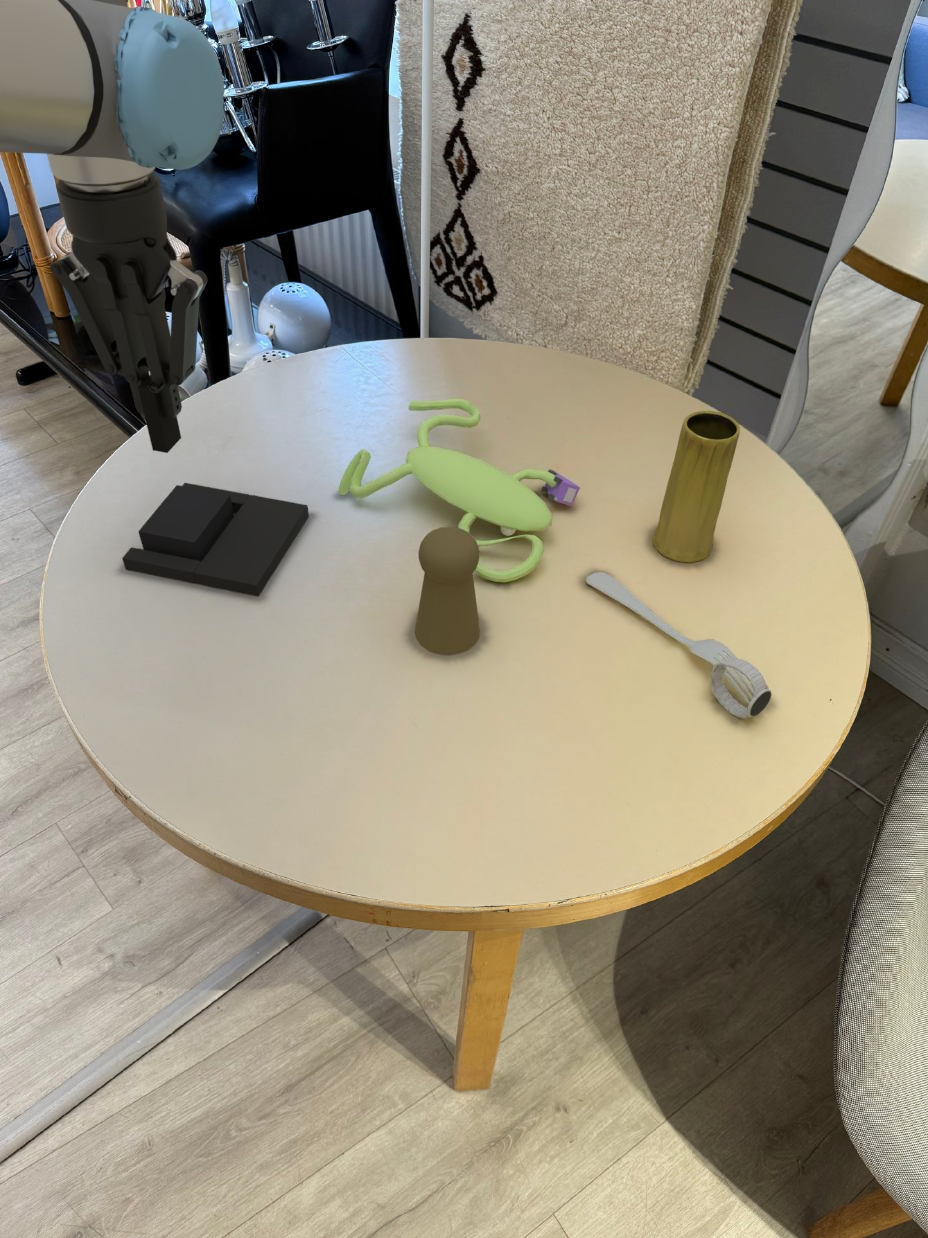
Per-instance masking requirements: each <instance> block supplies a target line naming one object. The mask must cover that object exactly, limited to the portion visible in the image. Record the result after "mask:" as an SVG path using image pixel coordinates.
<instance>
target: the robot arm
mask: <svg viewBox="0 0 928 1238" xmlns="http://www.w3.org/2000/svg"><path fill="white" fill-rule="evenodd" d="M128 2H129V0H0V153H16V154H41V155H42V154H43V155H46V157H47V160H48V164H49V169H50V172H51V173H52V175H53V176H54V177H55V178H56V179H58V181H57V183H56V185H55V189H56V193H57V196H58V200H59V203H60V207H61V211H62V215H63V219H64V223H65V227H66V229H67V231H68V232H69V234H70V235H72V239H71V243H70V246H71V247H70V248H71V251H69V252H67V253H66V254H65V255H63V256H61V257H60V258H58V259H57V260H55V261H54V262H53V263H51V264H50V271H51V273H52V274H53V276H54V277H55V279H56V280H57V281H58V282H59V283H60V285H61V286H62V287H63V288H64V290H65V291H66V292H67V293H68V296H69V298H70V299H71V302H72V304H73V306H74V308H75V310H76V312H77V314H78V316H79V318H80V320H81V323H82V324H83V326H84V329H85V330H86V332H87V334H88V337H89V339H90V341H91V344H92V345H93V348H94V350H95V352H96V353H97V356H98V358H99V360H100V362H101V364H102V366H103V369H104V370H105V371H106V372H107V373H108V374H109V375H112V376H115V375H116V374H117V375H120V376H121V377H123V378H124V379H125V381H126V382H127V383H129V386H130V389H131V394H132V398H133V402H134V407H135V409H136V411H137V413H138V414H142V415H144V420H145V423H146V428H147V432H148V436H149V440H150V445H151V449H152V451H154V452H158V453H159V452H160V453H165V454H168V453H169V452H170V451H171V450H172V449H173V447H175V446H176V444H177V443H178V442H179V441H180V440H181V439H182V434H181V430H180V425H179V419H178V415H179V414H180V413H181V412H182V409H183V405H182V401H181V395H180V389H179V386H182V384H183V383H184V382H185V381H187V379H188V378H190V376H191V375H192V374H193V373H194V372H195V371H196V366H197V365H196V362H197V349H198V348H197V347H198V346H197V345H198V328H199V314H200V313H199V310H200V297H201V296H202V293H203V291H204V290H205V287H206V285H207V284H208V281H209V280H208V276H207V274H206V273H205V272H204V271H203V270H199V269H198V270H195V271H194V272H193V271H191V270H190V269H189V268H188V267H186V266H184V265H183V264H182V263H181V262H180V261H178V256H177V252H176V249H175V248H174V247H173V245H172V243H171V242H170V240H169V237H168V217H167V212H166V206H165V201H164V196H163V189H162V184H161V180H160V178H159V176H157V174H155V173H154V170H155V169H156V168H157V167H158V168H163V169H168V170H169V169H170V170H176V171H184V170H189V169H192V168H194V167H196V166H197V165H199V164H200V163H202V162H203V161H204V160H205V159H206V158H208V156H209V155H210V154H211V152H212V151H213V150H214V148H215V146H216V144H217V142H218V141H219V138H220V135H221V131H222V128H223V124H224V118H225V110H224V104H225V101H224V95H225V90H226V89H225V83H224V76H223V72H222V68H221V65H220V62H219V58H218V57H217V54H216V52H215V50H214V48H213V46H212V45H211V43H210V41H209V40H208V38H207V37H206V35H205V34H204V33H203V32H202V31H201V30H200V29H199V28H198V27H197V26H196V25H194V24H193V23H192V22H190V21H188V20H186V19H184V18H181V17H179V16H175V15H170V14H165V13H163V12H158V11H156V10H155V9H153V8H150V7H146V6H135V7H129V5H128ZM169 278H170V281H171V283H170V287H171V288H170V294H171V295H172V296H174V297H173V299H172V304H171V319H170V322H171V323H170V325H169V321H168V317H167V311H166V307H165V306H166V305H165V302H166V298H167V296H166V295H167V294H166V289H165V285H166V283H167V282H168V280H169Z"/></svg>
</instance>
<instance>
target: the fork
mask: <svg viewBox="0 0 928 1238" xmlns="http://www.w3.org/2000/svg"><path fill="white" fill-rule="evenodd" d="M585 582H586V584H587V585H589V586H592V588H594V589H596V590H597V591H599V592H601V593H603V594H605V595H606V596H609V597H610V598H612V599H613V600H615V601H616V602H618V603H620V604H622V605H623V606H625V607H627V608H628V609H630V610H631V611H633V612H634V613H636V614H637V615H639V616H641V617H642V618H644V619H646V620H647V621H649V622H650V623H651V624H653V625H654V626H655V627H657V628H658V629H660V630H661V631H662V632H664V633H666V635H668V636H670V637H672V638H673V639H675V640H676V641H678V642H679V643H681V644H684V645H686V646H688V648H689V649H690V650H689V651H690V652H691V653H692V654H693V655H696V656H698V657H699V658H702V659H704V660H705V661H706V662H708V663H710V664H711V665H712V666H713V667H714V665H716V664H717V663H719V662H721V661H722V660H724V659H725V658H727V657H735V658H738V657H737V655H735V653H733V651H732V650H731V648H729V647H728V646H727V645H726V644H724V643H722V642H721V641H718V640H715V639H713V638H712V639H711V638H707V639H701V640H694V639H691V638H688V637H686V636H685V635H683V634H681V633H680V632H678V631H677V630H676V629H674V628H673V627H672V626H670V625H669V624H668V623H667V622H665V621H664V620H663V619H662V618H660V617H659V616H658V615H657V614H656V613H654V612H653V611H652V610H651V609H649V608H648V606H646V605H645V604H644V603H643V602H641V600H639V599H638V598H637V597H636V595H634V594H633V593H632V592H631V591H630V590H629V589H628V588H627V587H625V585H623V584H622V583H621V582H620V581H618V580H617V579H616V578H615V577H613V576H611V575H610V574H607V573H606V572H600V571H599V572H593V573H592V574H590V575H588V576H587V577H586V578H585ZM722 677H724V678H725V679H726V680H727V682H728V683H729V684H730V685H731V686H732V687H733V688H734V689H735V691H736V692H737V693H738V694H739V695H740V696H741V697H742V698H743V700H744V701H745V702H746V703H747V705H749V703H750V700H752V697H753V691H754V689H753V687H752V685H751V683H750V682H749V680H748V679H747V678H746V676H744V675H743V674H742V673H740V672H739V671H737V670H736V669H734V668H731V667H727V666H726V671H725V673H723V675H722ZM745 685H746V686H745ZM741 689H742V690H743V691H744V692H743V691H742V690H741ZM749 690H750V691H749ZM750 692H751V693H752V694H751V693H750ZM745 693H746V695H747V696H748V697H749V698H750V700H749V699H748V698H747V696H746V695H745Z"/></svg>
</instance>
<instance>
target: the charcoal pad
mask: <svg viewBox="0 0 928 1238" xmlns="http://www.w3.org/2000/svg"><path fill="white" fill-rule="evenodd" d="M234 516H235V513H234V512H233V507H232V502H231V496H230V495H228V494H223V493H217V492H212V491H207V490H201V489H196V488H190V487H185V486H182V485H178V484H176V485H175V486H174V488H173V489H172V490H171V491H170V492H169V494H168V495H167V497H165V498H164V500H163V501H162V502H161V503H160V505H158V507H157V508H156V509H155V510H154V511H153V513H152V514H151V515H150V516H149V518H148V519H147V520H146V521H145V522H144V524H143V525H142V526H141V528H139V530H138V536H139V540H140V543H141V547H142V548H143V549H142V550H147V551H152V552H157V553H162V554H167V555H172V556H177V557H182V558H187V559H193V560H198V561H201V562H202V560H203V559H204V558H205V556H206V555H207V553H208V552H209V551H210V549H211V548H212V547H213V545H214V544H215V542H216V541H217V540H218V538H219V537H220V535H221V534H222V533H223V531H224V530H225V529H226V527H227V526H228V524H229V523H230V522H231V520H232V519H233V518H234Z"/></svg>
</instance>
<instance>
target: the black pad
mask: <svg viewBox="0 0 928 1238" xmlns="http://www.w3.org/2000/svg"><path fill="white" fill-rule="evenodd" d="M181 486H185V487H190V488H196V489H201V490H207V491H212V492H217V493H223V494H228V495H230V496H231V502H232V507H233V512H234V518H233V519H232V520H231V522H230V523H229V524H228V526H227V527H226V529H225V530H224V531H223V533H222V534H221V535H220V537H219V538H218V540H217V541H216V542H215V544H214V545H213V547H212V548H211V549H210V551H209V552H208V553H207V555H206V556H205V558H204V559H203V560H202V562H201V561H198V560H193V559H187V558H182V557H177V556H172V555H167V554H162V553H157V552H152V551H147V550H143V549H141V548H136V547H132V546H131V547H130V548H129V549H128V550H127V552H125V554H124V555H123V556H122V557H121V559H122V562H123V565H124V569H125V570H127V571H131V572H136V573H140V574H145V575H150V576H155V577H160V578H165V579H171V580H174V581H180V582H185V583H190V584H195V585H200V586H205V587H210V588H214V589H220V590H225V591H230V592H235V593H239V594H245V595H249V596H255V597H260V595H261V593H262V592H263V591H264V589H265V587H266V585H267V584H268V582H269V581H270V579H271V577H272V576H273V575H274V573H275V571H276V570H277V568H278V566H279V565H280V563H281V562H282V560H283V558H284V557H285V555H286V553H288V550H289V549H290V548H291V546H292V544H293V542H294V541H295V539H296V537H297V536H298V535H299V533H300V531H301V530H302V528H303V527H304V525H305V523H306V522H307V520H308V518H309V517H310V515H309V506H308V504H302V503H297V502H291V501H286V500H281V499H276V498H270V497H265V496H259V495H253V494H248V493H243V492H238V491H233V490H227V489H222V488H217V487H212V486H204V485H200V484H194V483H189V482H184V483H182V485H181Z"/></svg>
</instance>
